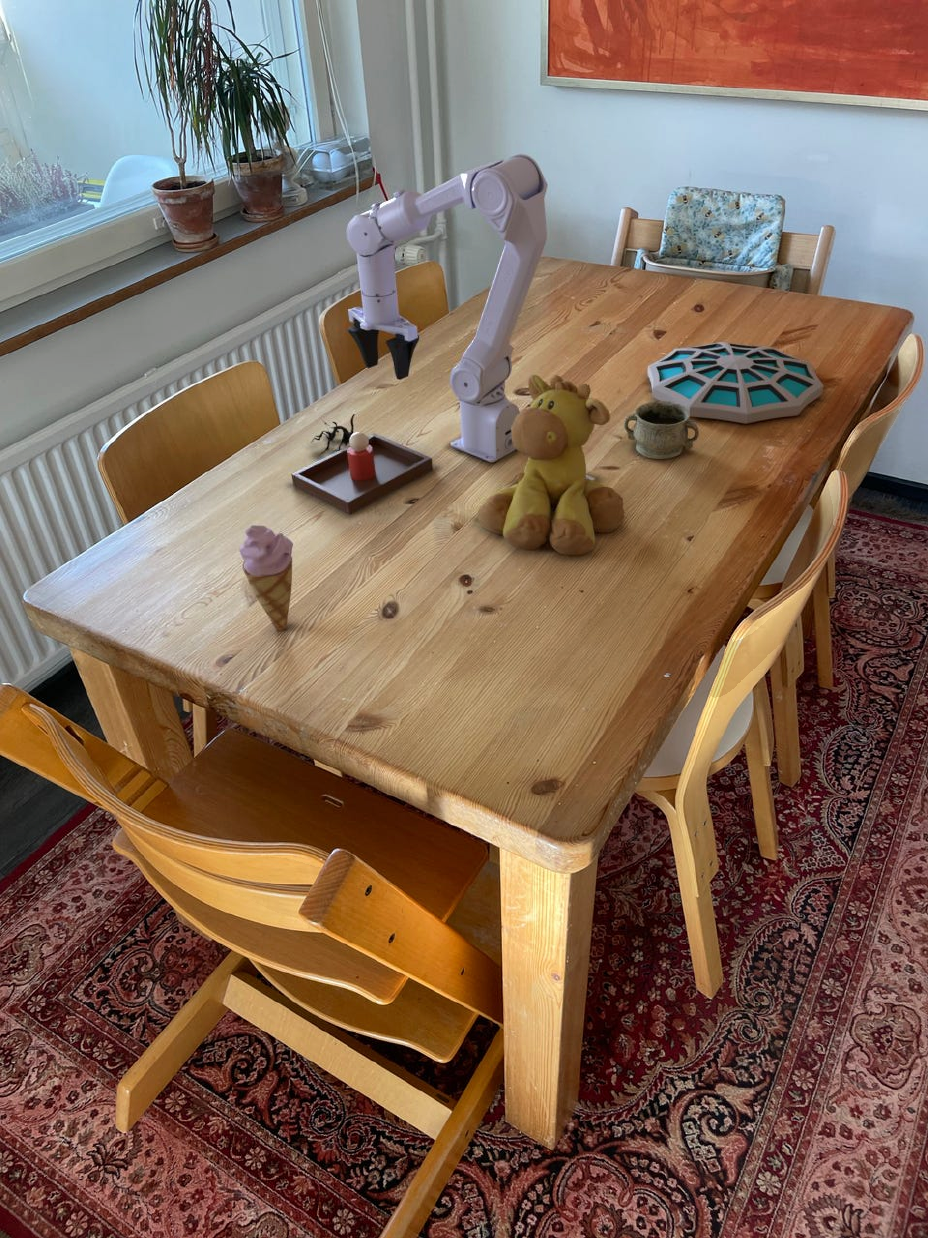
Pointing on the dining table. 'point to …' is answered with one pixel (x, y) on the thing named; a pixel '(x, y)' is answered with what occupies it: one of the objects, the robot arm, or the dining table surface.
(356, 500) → the tray
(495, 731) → the dining table surface
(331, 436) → the creature
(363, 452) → the peg doll
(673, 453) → the vessel
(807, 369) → the decorative platform
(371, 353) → the robot arm
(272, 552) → the ice cream cone
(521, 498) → the giraffe plush
